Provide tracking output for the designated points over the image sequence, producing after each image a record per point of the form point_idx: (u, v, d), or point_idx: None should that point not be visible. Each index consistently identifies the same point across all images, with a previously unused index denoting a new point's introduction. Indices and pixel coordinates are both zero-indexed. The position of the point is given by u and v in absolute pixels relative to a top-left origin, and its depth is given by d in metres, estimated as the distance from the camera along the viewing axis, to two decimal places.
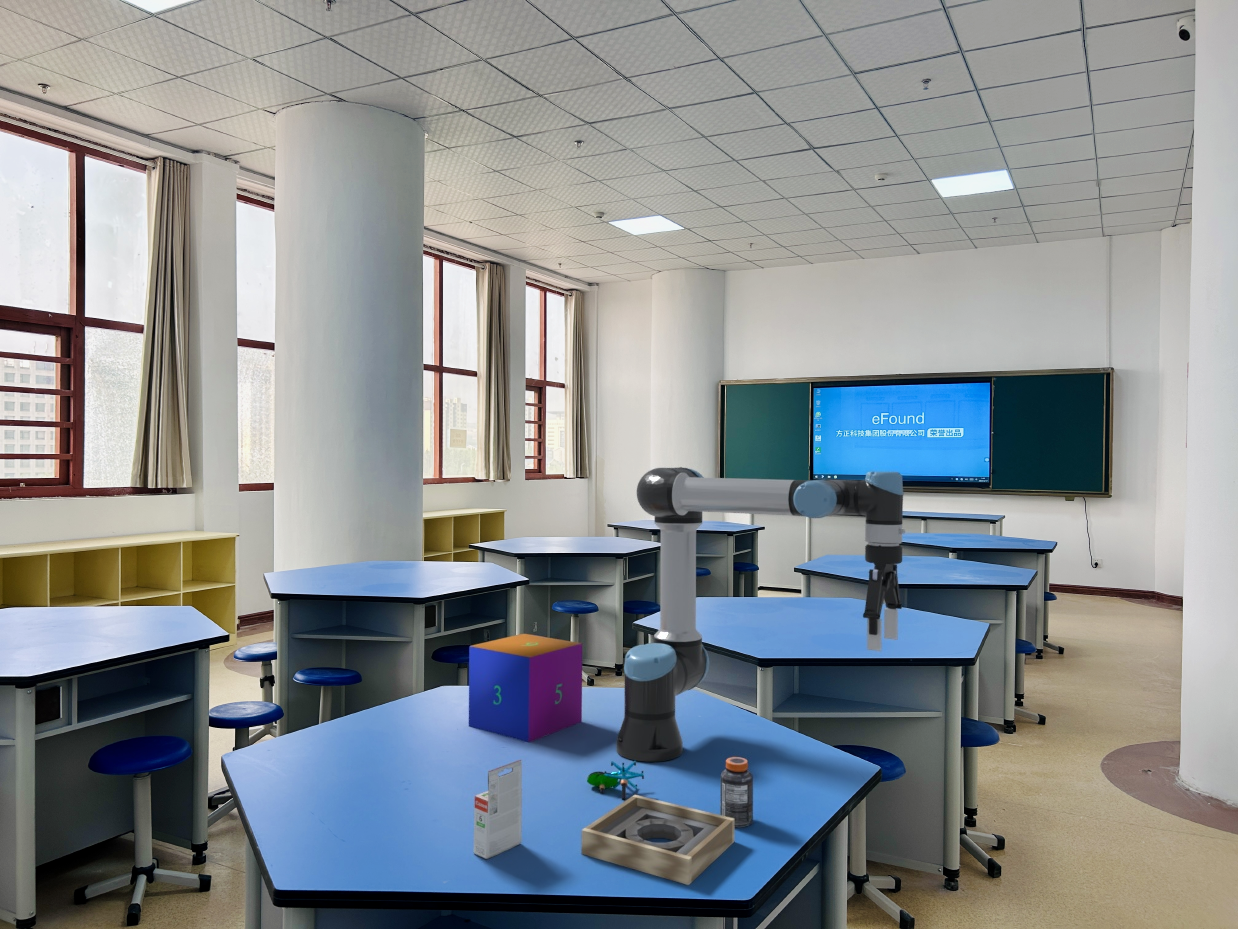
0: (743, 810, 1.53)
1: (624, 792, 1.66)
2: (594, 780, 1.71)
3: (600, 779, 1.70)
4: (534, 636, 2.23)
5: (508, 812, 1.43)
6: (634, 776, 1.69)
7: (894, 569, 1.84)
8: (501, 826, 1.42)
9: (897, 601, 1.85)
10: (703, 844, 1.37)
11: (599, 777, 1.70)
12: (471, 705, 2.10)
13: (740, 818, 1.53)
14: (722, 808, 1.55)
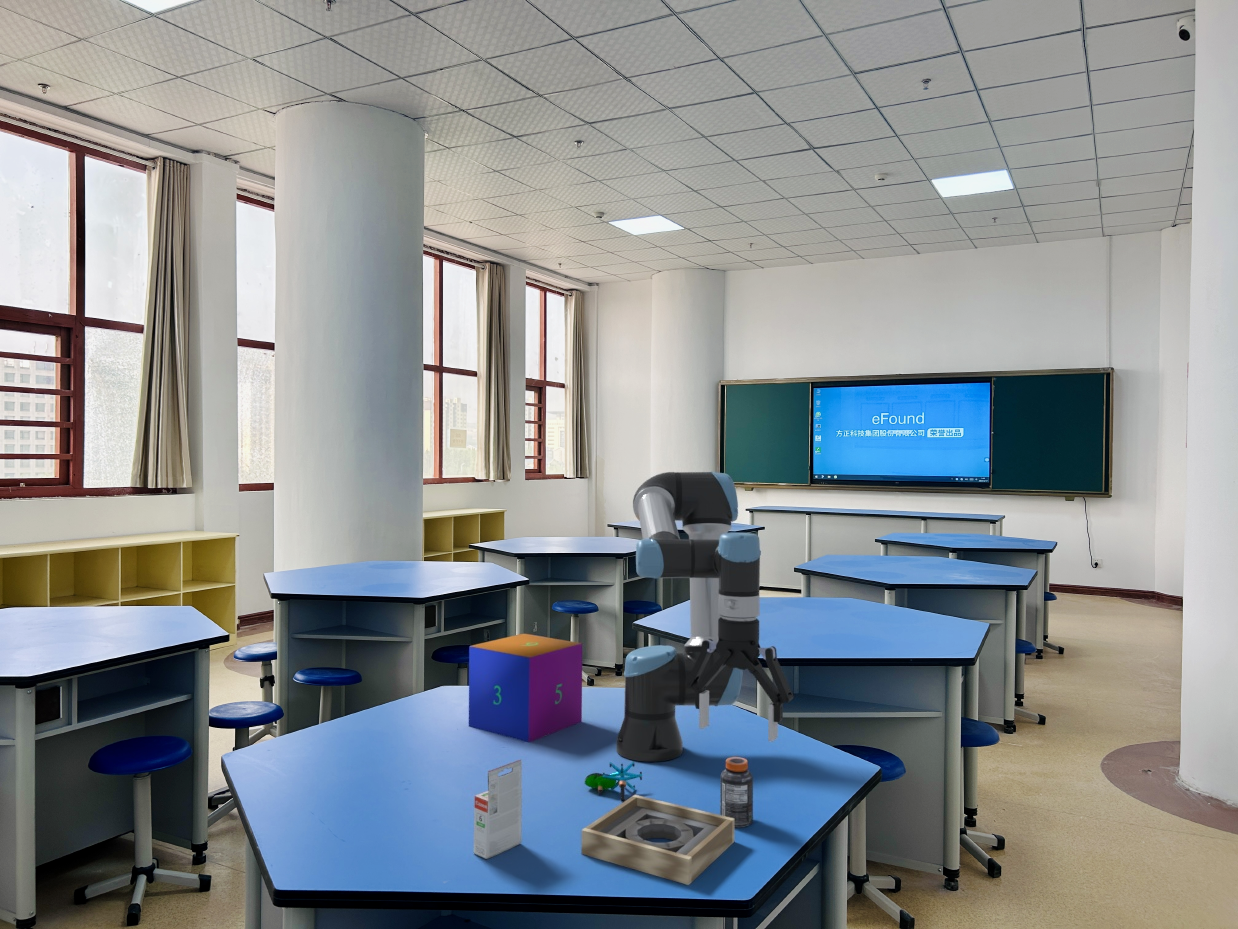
0: (743, 810, 1.53)
1: (623, 793, 1.66)
2: (592, 782, 1.70)
3: (598, 781, 1.69)
4: (534, 636, 2.23)
5: (508, 812, 1.43)
6: (632, 777, 1.68)
7: None
8: (501, 826, 1.42)
9: (774, 695, 1.51)
10: (703, 844, 1.37)
11: (597, 779, 1.69)
12: (471, 705, 2.10)
13: (740, 818, 1.53)
14: (722, 808, 1.55)
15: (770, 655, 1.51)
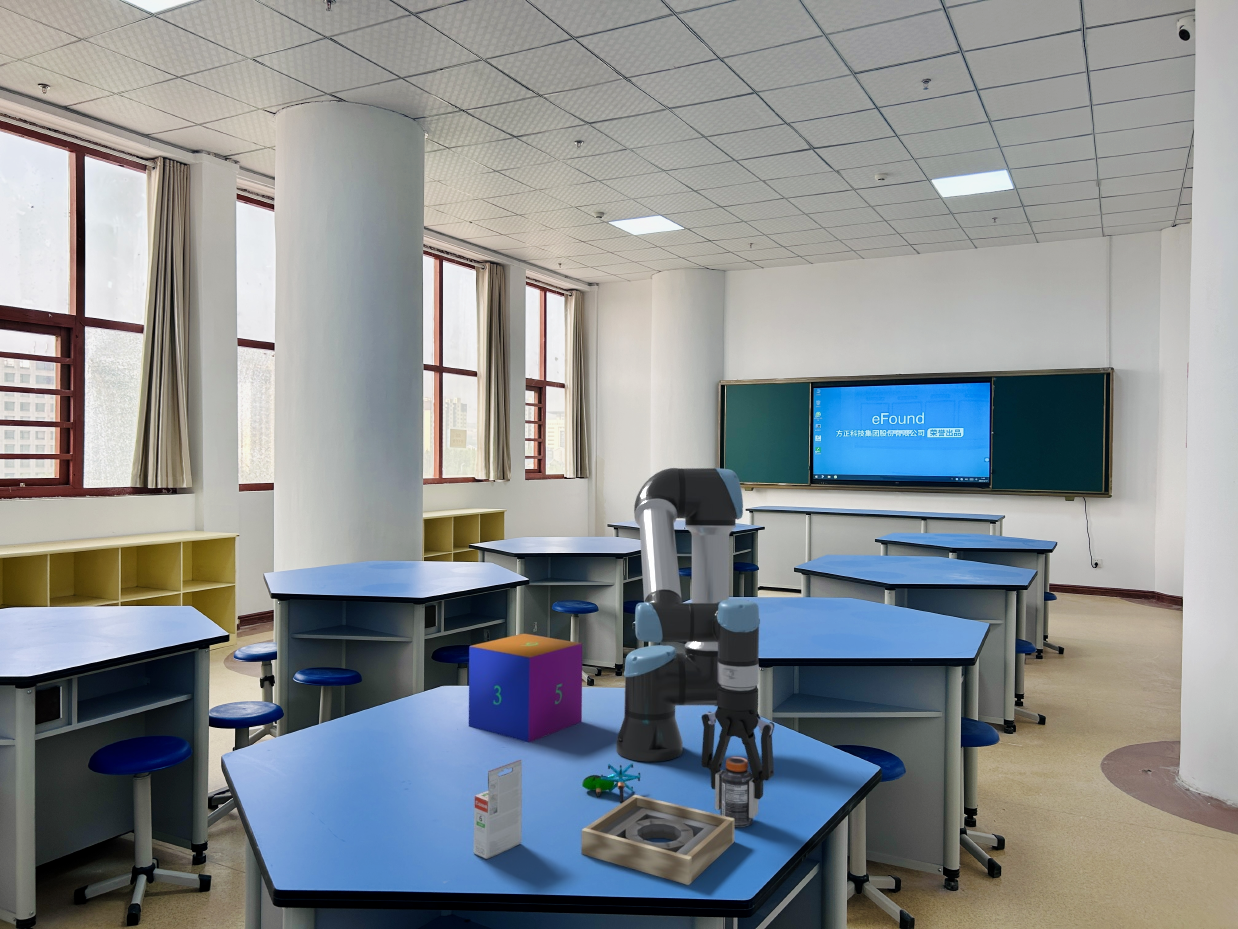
0: (743, 810, 1.53)
1: (622, 795, 1.65)
2: (590, 784, 1.69)
3: (596, 783, 1.68)
4: (534, 636, 2.23)
5: (508, 812, 1.43)
6: (631, 778, 1.67)
7: None
8: (501, 826, 1.42)
9: (757, 773, 1.53)
10: (703, 844, 1.37)
11: (595, 781, 1.68)
12: (471, 705, 2.10)
13: (740, 818, 1.53)
14: (722, 808, 1.55)
15: (767, 732, 1.52)
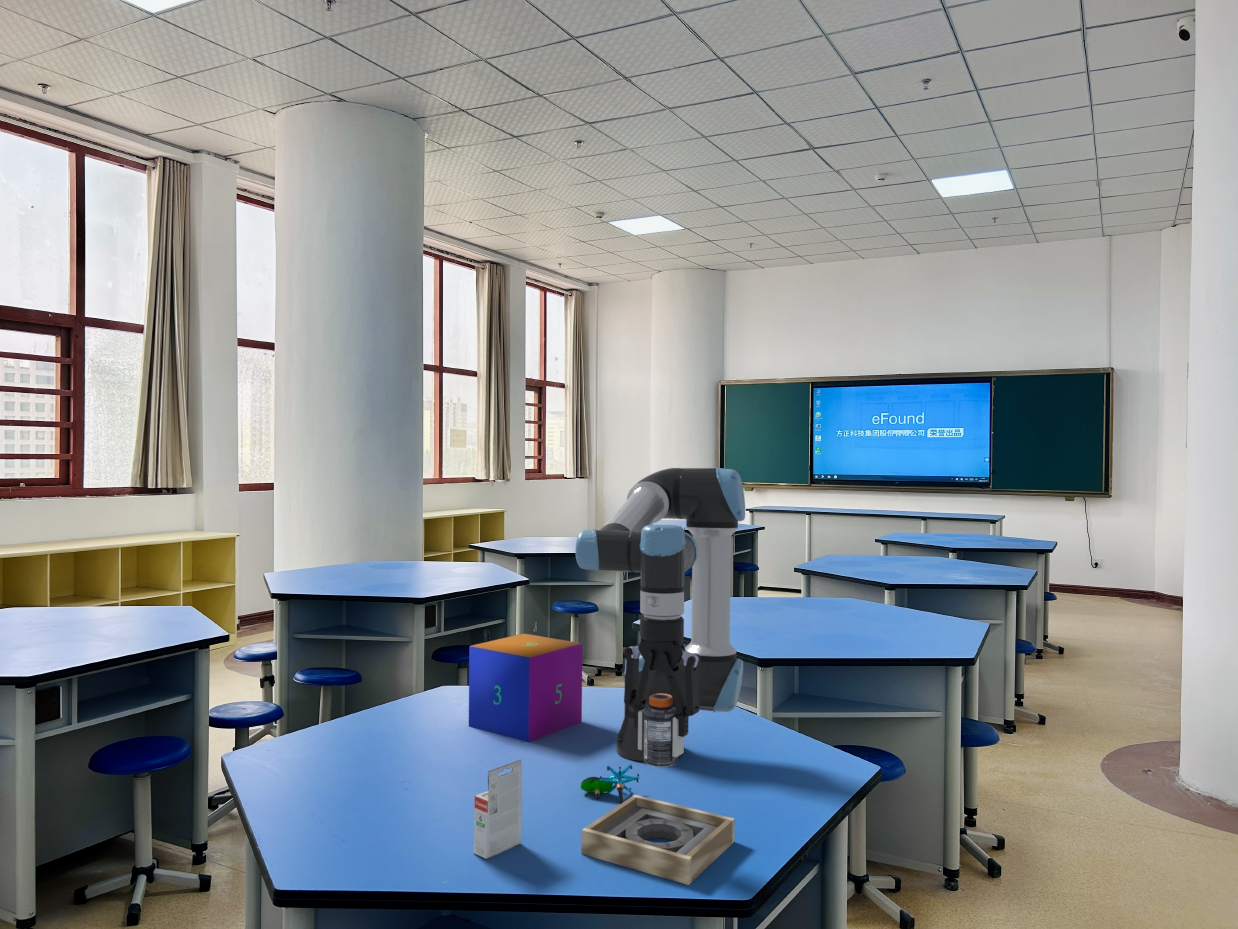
0: (666, 749, 1.42)
1: (621, 796, 1.64)
2: (588, 786, 1.68)
3: (595, 784, 1.67)
4: (534, 636, 2.23)
5: (508, 812, 1.43)
6: (630, 780, 1.67)
7: None
8: (501, 826, 1.42)
9: (681, 708, 1.42)
10: (703, 844, 1.37)
11: (594, 782, 1.67)
12: (471, 705, 2.10)
13: (662, 757, 1.42)
14: (644, 747, 1.44)
15: (691, 664, 1.41)
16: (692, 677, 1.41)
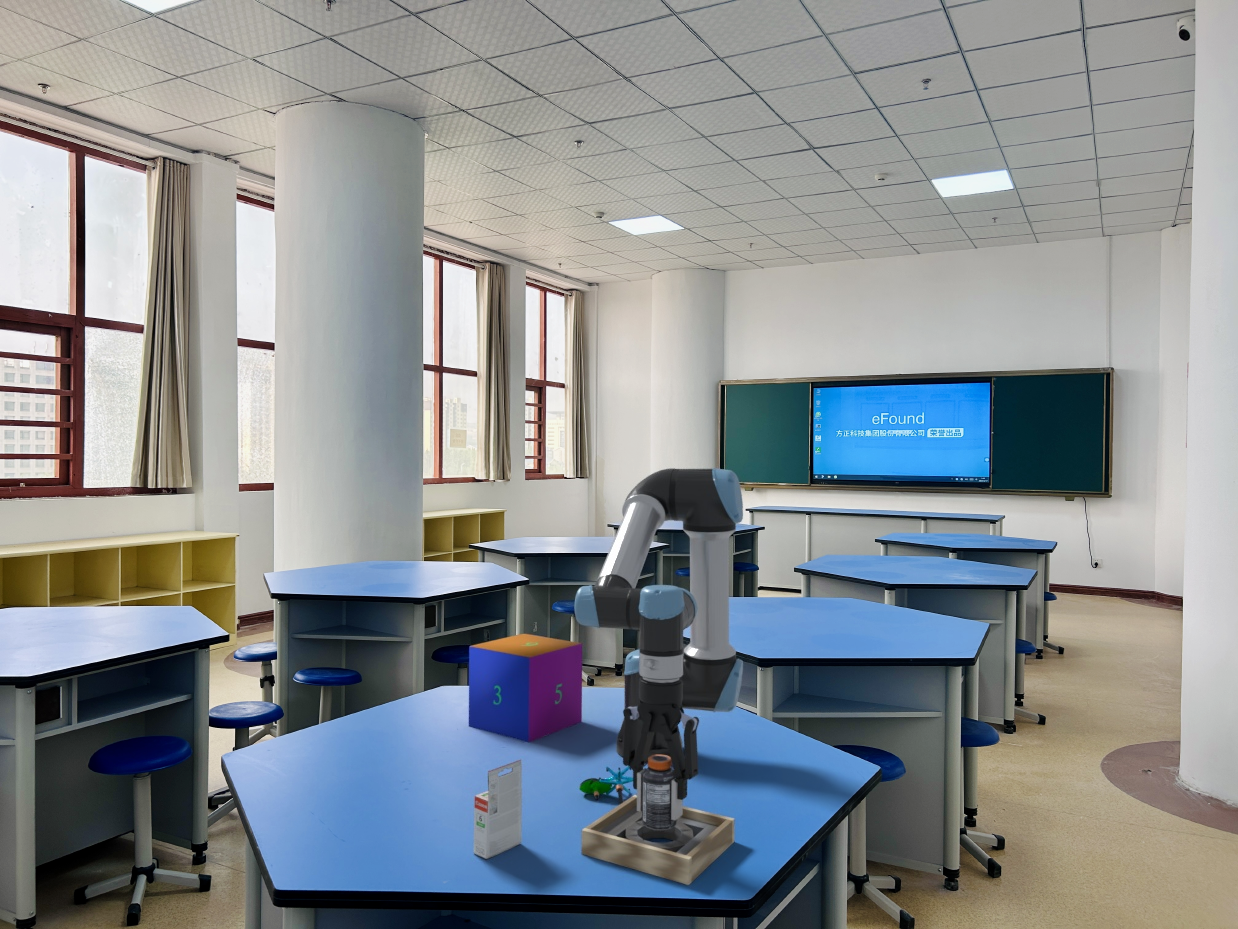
0: (665, 812, 1.42)
1: (621, 797, 1.64)
2: (587, 787, 1.67)
3: (594, 786, 1.67)
4: (534, 636, 2.23)
5: (508, 812, 1.43)
6: (629, 780, 1.66)
7: None
8: (501, 826, 1.42)
9: (680, 771, 1.42)
10: (703, 844, 1.37)
11: (593, 784, 1.66)
12: (471, 705, 2.10)
13: (661, 820, 1.42)
14: (643, 809, 1.44)
15: (690, 728, 1.41)
16: (691, 740, 1.41)
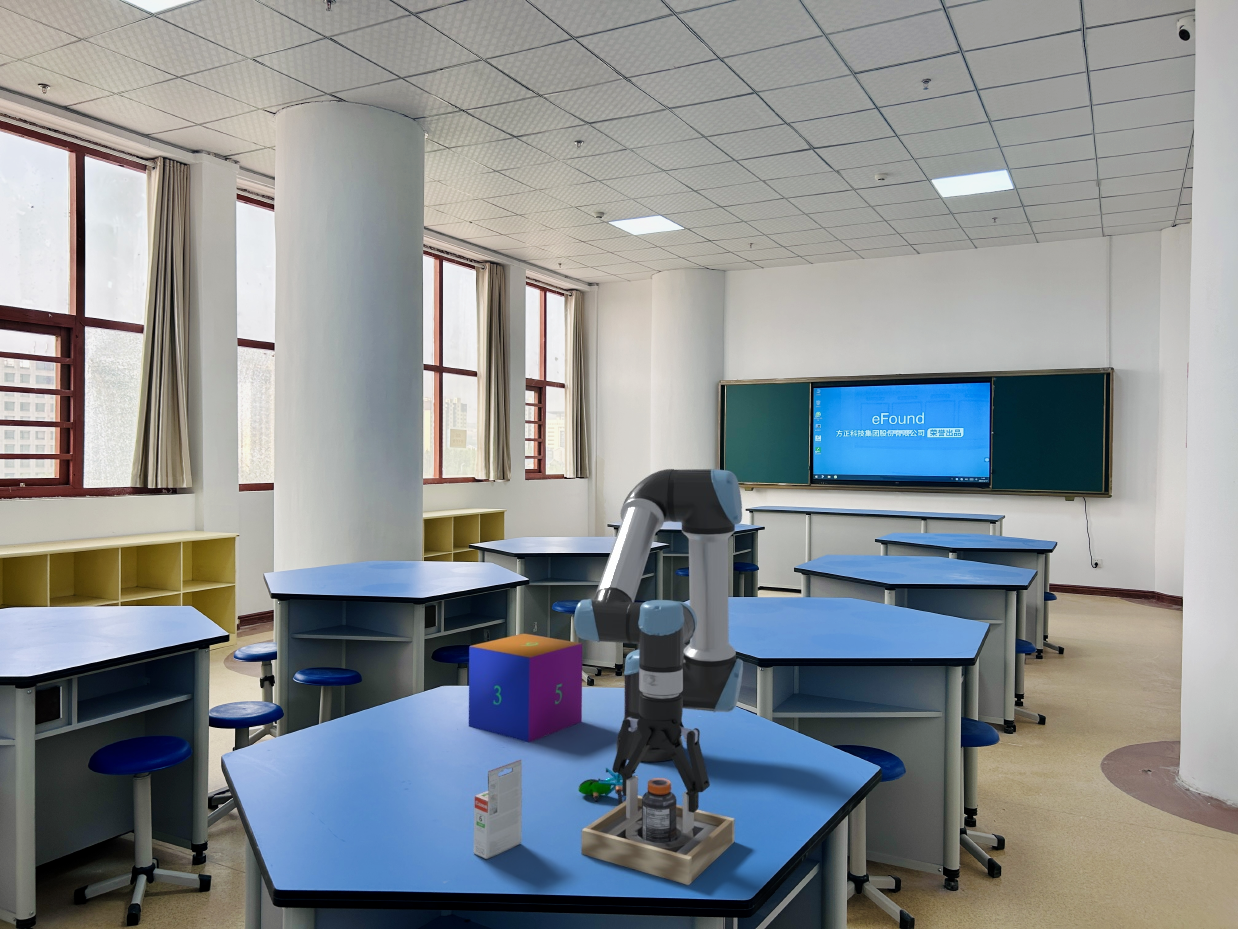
0: (665, 836, 1.42)
1: (621, 798, 1.63)
2: (586, 788, 1.67)
3: (593, 787, 1.66)
4: (534, 636, 2.23)
5: (508, 812, 1.43)
6: None
7: None
8: (501, 826, 1.42)
9: (690, 784, 1.41)
10: (703, 844, 1.37)
11: (592, 785, 1.65)
12: (471, 705, 2.10)
13: None
14: (643, 833, 1.44)
15: (691, 739, 1.41)
16: (695, 752, 1.41)
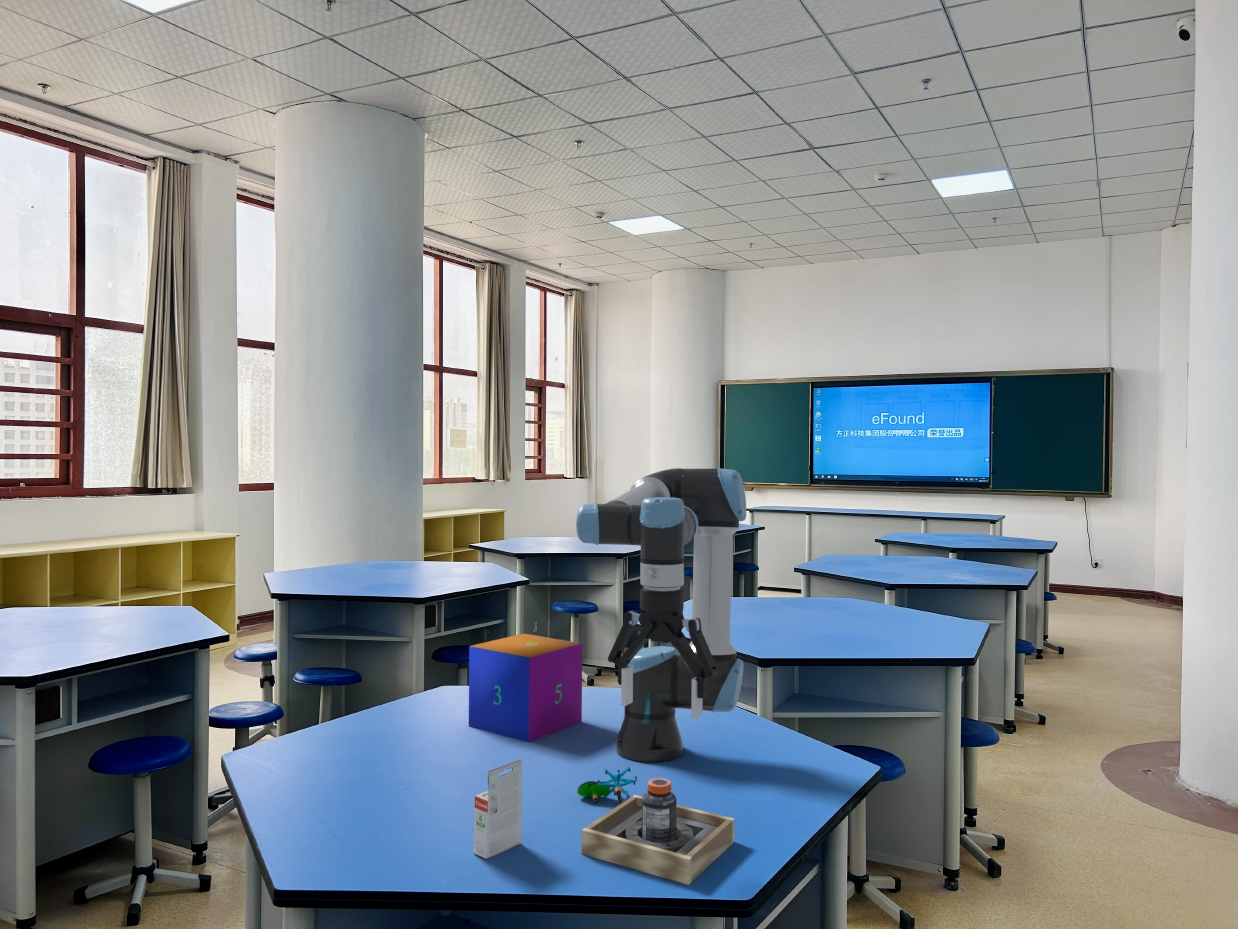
0: (665, 836, 1.42)
1: (621, 800, 1.62)
2: (585, 790, 1.66)
3: (592, 789, 1.65)
4: (534, 636, 2.23)
5: (508, 812, 1.43)
6: (628, 782, 1.65)
7: None
8: (501, 826, 1.42)
9: (697, 670, 1.41)
10: (703, 844, 1.37)
11: (592, 787, 1.64)
12: (471, 705, 2.10)
13: None
14: (643, 833, 1.44)
15: (693, 627, 1.42)
16: (699, 639, 1.42)
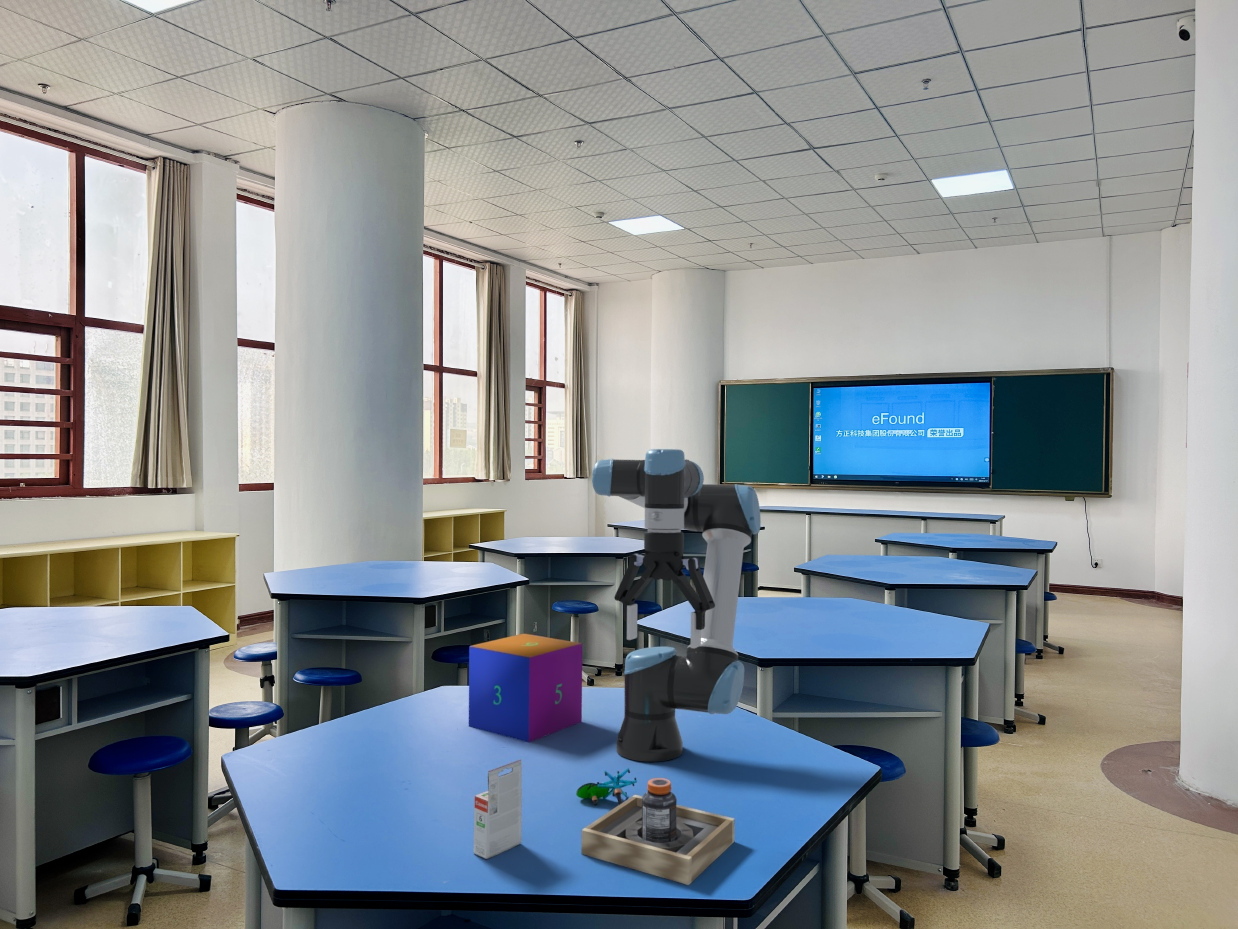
0: (665, 836, 1.42)
1: (621, 801, 1.62)
2: (584, 792, 1.65)
3: (591, 791, 1.64)
4: (534, 636, 2.23)
5: (508, 812, 1.43)
6: (627, 784, 1.64)
7: None
8: (501, 826, 1.42)
9: (696, 603, 1.56)
10: (703, 844, 1.37)
11: (591, 789, 1.64)
12: (471, 705, 2.10)
13: None
14: (643, 833, 1.44)
15: (692, 565, 1.56)
16: (697, 576, 1.56)
